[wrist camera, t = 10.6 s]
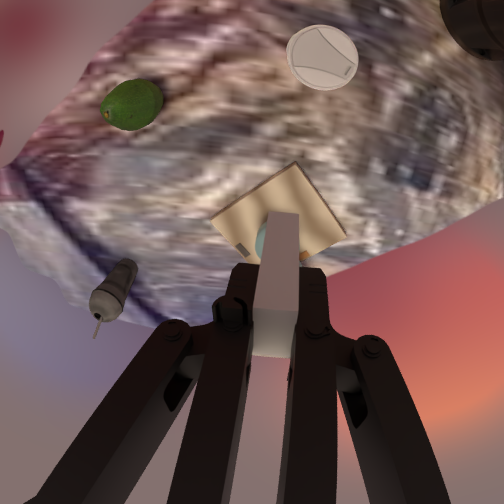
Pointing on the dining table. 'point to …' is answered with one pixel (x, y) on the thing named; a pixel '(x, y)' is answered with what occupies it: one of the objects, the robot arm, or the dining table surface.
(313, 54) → the paper cup
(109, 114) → the avocado
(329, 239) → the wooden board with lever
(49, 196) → the dining table surface
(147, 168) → the dining table surface
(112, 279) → the beverage cup
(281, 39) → the dining table surface
